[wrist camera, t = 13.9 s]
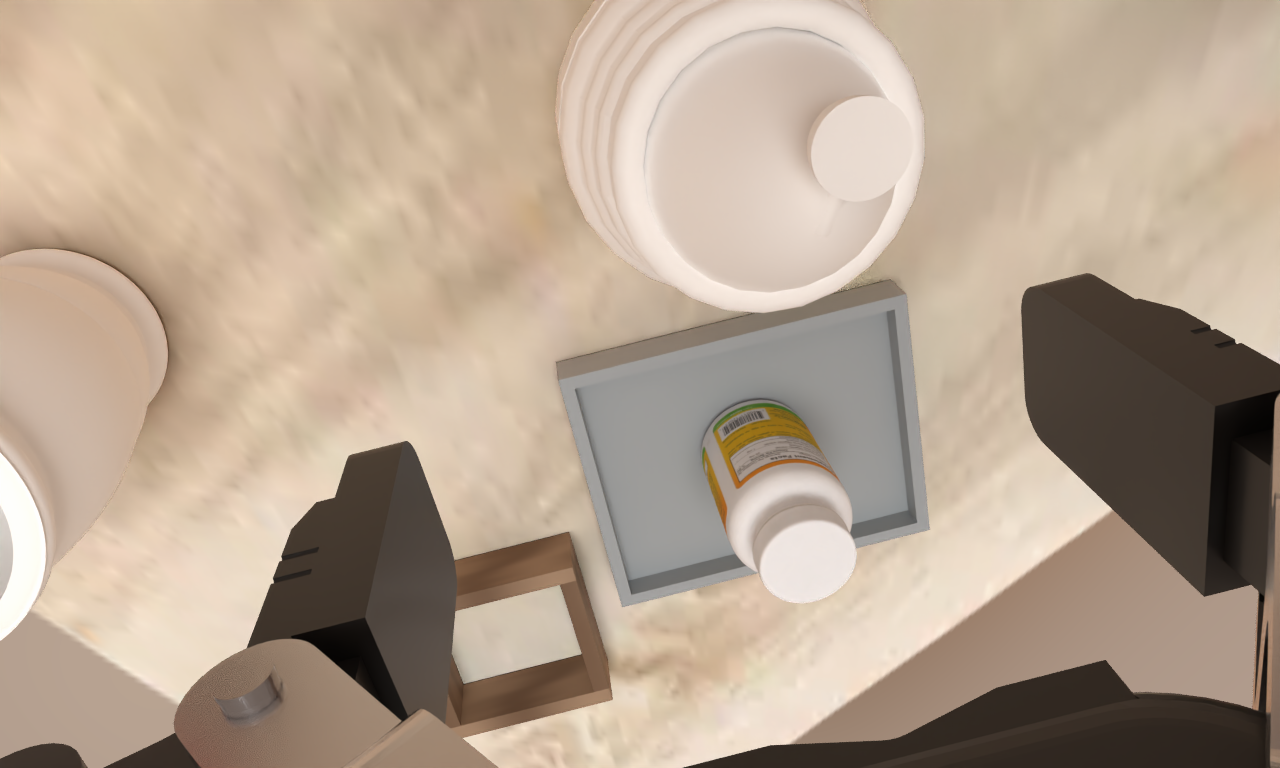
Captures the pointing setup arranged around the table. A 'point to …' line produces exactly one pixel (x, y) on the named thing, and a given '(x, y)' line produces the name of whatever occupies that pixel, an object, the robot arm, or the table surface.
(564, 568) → the holder
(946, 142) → the table surface
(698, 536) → the tray
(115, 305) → the jar
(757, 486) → the supplement bottle
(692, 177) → the honey pot
